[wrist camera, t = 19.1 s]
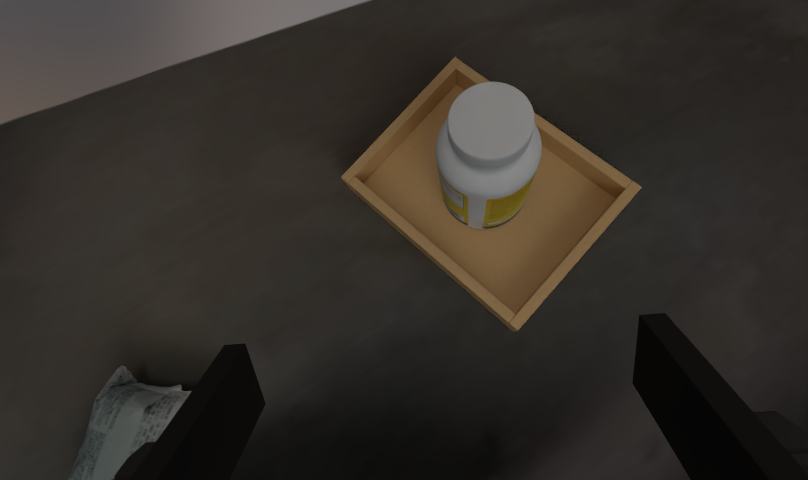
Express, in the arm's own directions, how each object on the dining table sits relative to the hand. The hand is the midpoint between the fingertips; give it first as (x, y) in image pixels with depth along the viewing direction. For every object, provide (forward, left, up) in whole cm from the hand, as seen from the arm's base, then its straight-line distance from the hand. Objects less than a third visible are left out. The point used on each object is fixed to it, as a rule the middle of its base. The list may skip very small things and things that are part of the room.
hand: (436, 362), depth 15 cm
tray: (-6, +11, -18) cm, 22 cm away
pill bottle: (-6, +11, -18) cm, 22 cm away
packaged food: (-11, -21, -19) cm, 30 cm away
